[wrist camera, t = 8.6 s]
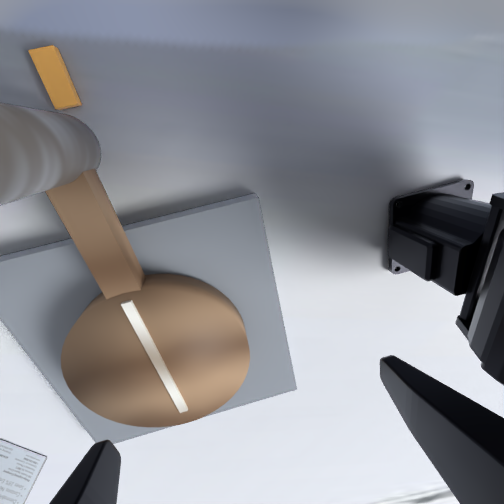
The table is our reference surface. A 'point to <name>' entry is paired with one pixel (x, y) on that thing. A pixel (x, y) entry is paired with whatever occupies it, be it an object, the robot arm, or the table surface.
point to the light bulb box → (17, 472)
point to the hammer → (123, 290)
